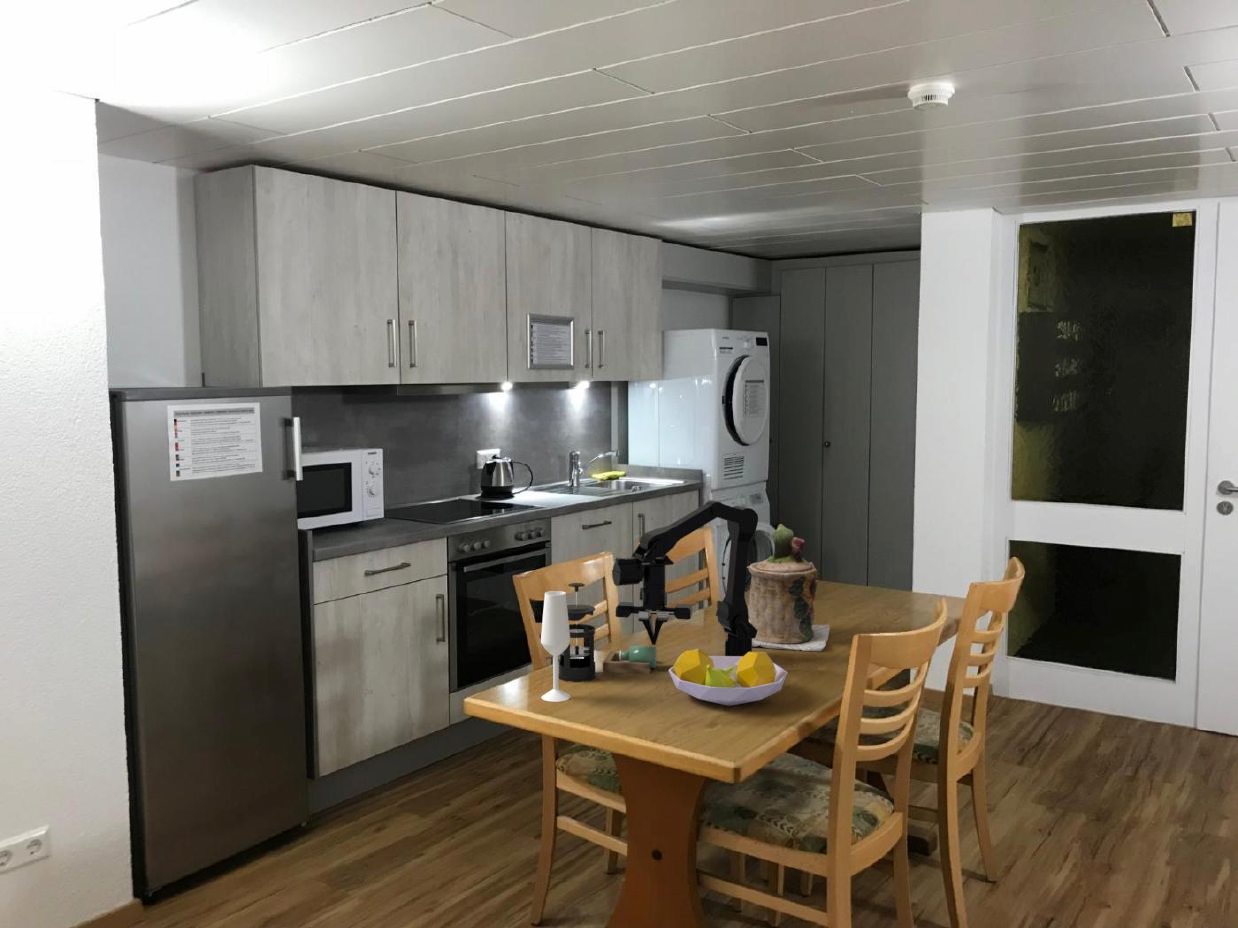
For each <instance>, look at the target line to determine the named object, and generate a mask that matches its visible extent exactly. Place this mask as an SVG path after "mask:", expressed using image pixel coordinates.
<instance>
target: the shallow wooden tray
mask: <svg viewBox="0 0 1238 928" xmlns="http://www.w3.org/2000/svg"><path fill="white" fill-rule="evenodd" d="M620 651H621V650H618V651H614V650H610V651H609V652H608V653H607V656H606V657H605V659H604V660H603V661H602V673H612V674H613V673H614V674H635V673H641V675H650V673H651V670H652V668H651V667H650V663H640V662H629V661H625V660H622V661H620V660H619V654H620Z"/></svg>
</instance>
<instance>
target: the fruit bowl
mask: <svg viewBox="0 0 1238 928" xmlns="http://www.w3.org/2000/svg"><path fill="white" fill-rule="evenodd" d="M668 673H669V675H670V677H671V679H672V681H673V683H674V685H675V687H676V689H678V690H679V691H682V692H683V693H686V694H688V695H690V696H692V697H694V698H696V699H698V700H702V701H706V702H711V703H715V704H718V705H723V706H728V707H731V706H736V705H741V704H747V703H751V702H758V701H761V700H763V699H765V698H768V697H770V696H771V695H773V694H775V693H778V692H780V691H781V689H782V687H783V685H784V682H785V679H786V677H787V676H788V673H789V672H788V671H787V670H786V669H784V668H782V667H781V666H779V665H777V664H776V663H775V662H773V660H772V658H771V657H770V656H769V655H768V653H766V651H752V652H748V653H747V654H746V655H744V656H725V655H707V654H706V653H705V652H704V651H703V650H702V649H700V648H695V649H689V650H685V651H683V652H682V653H681V654H680V655H678V657H677V659H676V661H675V663H674V665H673V666H672V667H670V668H669V669H668Z"/></svg>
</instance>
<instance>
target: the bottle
mask: <svg viewBox="0 0 1238 928" xmlns="http://www.w3.org/2000/svg"><path fill="white" fill-rule="evenodd" d="M628 650H629V651H623V650H619V651H620V654H619V660H620V661H622V660H625V661H629V662H640V663H650V667H651V669H652V668H655V669H656V667H657V658H658V657H657V656H658V655H657V652H658V651H657V646H656V645H653V646H652V645H650V646H649V645H648V646H647V645H630V646H629V649H628Z"/></svg>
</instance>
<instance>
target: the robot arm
mask: <svg viewBox="0 0 1238 928" xmlns="http://www.w3.org/2000/svg"><path fill="white" fill-rule="evenodd" d="M717 518H718V519H722V520H725V521H726V525H727V531H728V534H729V539H730V549H729V550H730V551H729V557H728V558H729V562H728V570H727V571H728V572H727V579H726V580H727V582H726V583H727V584H726V593H725V596H724V598H723V599H722V600H717V602H716V605H717V607H716V609H717V610H716V612H715V616H716V617H717V622H718V624H719V625H720V626H721V627H722V628H723V630H724V633H727V638H726V639H725V641H724V643H725V645H724V656H744V655H746V654H747V653H748V652H753V646H752V638H755V637H756V634H757V629H756V628H755V627H754V626H753V625H752V624H751V623H750V622H749V613H748V604H747V601H746V597H745V596H746V595H745V594H746V584H747V574H748V562H749V553H750V552H749V551H750V543H751V541H752V539H753V537H754V535H755V534H756V530H757V529H758V528H757V527H758V523H759V514H758V513H757V512H756V511H755V509H753V508H750V507H746V506H742V505H735V506H731V505H727V504H724V503H722V502H721V501H718V500H707V502H705V504H703V505H701V506H700V507H698V508H696V509H694V510H692V511H691V512H689V513H688V514H686V515H684V516H683V517H681V518H679V519H677V520H676V521H674V522H673V523H671V524H669V525H666V526H663V527H657V528H655V529H653V530H649V531H646V532H645V533H643V534H642V535H641V536H640V540H639V544H638V545H637V547H636V549H635V550H634V552H632V554H631V556H630V557H616V558H615V559H614V560H615V563H613V566H612V569H611V577H612V582H613V584H614V586H616V587H617V586H618V587H619V586H633V585H635V586H636V585H639V584H640V583H641V582H642V587H640V590H639V600H640V601H642V606H641V605H635V602H633V601H619V603H618V604H617V605H616V607H615V617H616V618H629V617H630V616H631V615H632V614H633V615H635V614H636V615H637V614H638V620H637V621H638V622H642V625H643V626H644V628H645V630H646V633H647V634H648V638H649V640H650V642H651V646H652V645H653V646H656V644H657V641H658V638H659V636H660V632H661V628H662V626H663V624H664V623H668V622H669V619H670V616H674V618H675V619H677V620H684V621H685V620H691V618H692V615H693V606H692V605H691V603H676V604H675V606H674V607H673V606H667V605H668V592H667V591H666V574H667V573H666V566H672V565H674V564H675V563H674V561H673V560H672V559H671V558H670V557H669V556H668V555H667V554H668V553H669V552H670V551H671V550H673V549H674V547H676V545H677V543H678V542H679V541H680V540H682V539H683V538H685V537H686V536H688V535H690V534H692V533H694V532H695V531H697V530H699V529H700V528H701V527H703V526H705V525H707V524H709V523H710V522H712V521H714V520H715V519H717ZM653 615H656V618H655V622H653V619H654V617H653Z"/></svg>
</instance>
